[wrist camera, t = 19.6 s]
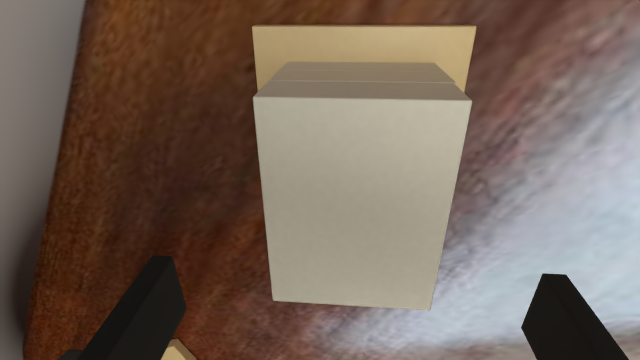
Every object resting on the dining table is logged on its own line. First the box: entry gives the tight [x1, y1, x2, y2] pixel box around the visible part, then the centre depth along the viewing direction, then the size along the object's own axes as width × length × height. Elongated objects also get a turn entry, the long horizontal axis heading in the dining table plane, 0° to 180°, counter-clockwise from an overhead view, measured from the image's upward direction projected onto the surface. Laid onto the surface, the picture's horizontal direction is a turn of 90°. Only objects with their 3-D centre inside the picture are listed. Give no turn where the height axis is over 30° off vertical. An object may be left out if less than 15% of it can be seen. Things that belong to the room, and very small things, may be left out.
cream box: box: [252, 25, 476, 92], centre depth 23 cm, size 16×13×6 cm
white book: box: [253, 81, 472, 310], centre depth 19 cm, size 12×9×3 cm
